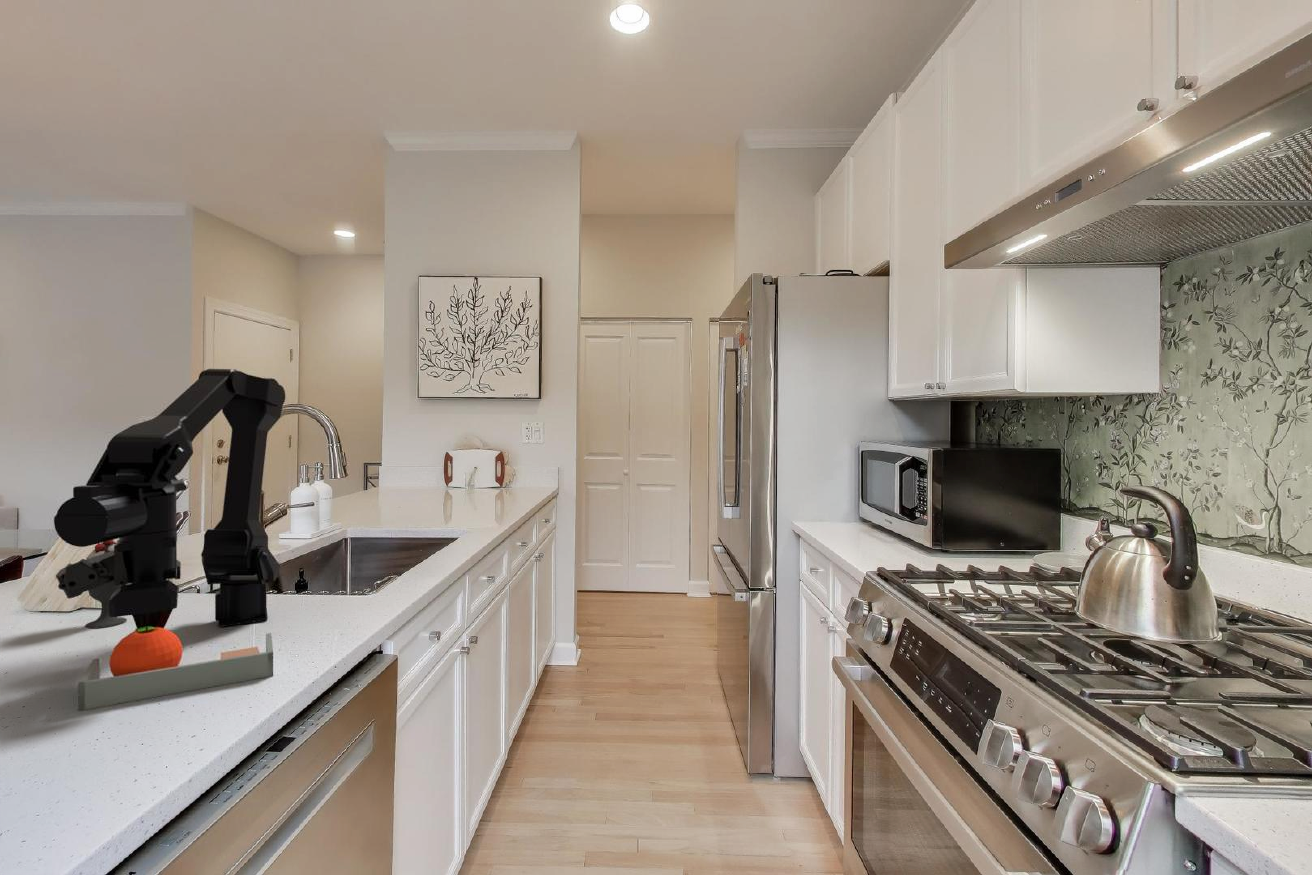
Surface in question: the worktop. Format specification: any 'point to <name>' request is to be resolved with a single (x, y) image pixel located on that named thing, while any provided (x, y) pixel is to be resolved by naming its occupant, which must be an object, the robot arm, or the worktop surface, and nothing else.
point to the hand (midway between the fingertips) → (149, 649)
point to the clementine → (146, 651)
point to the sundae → (104, 592)
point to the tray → (170, 679)
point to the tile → (239, 652)
